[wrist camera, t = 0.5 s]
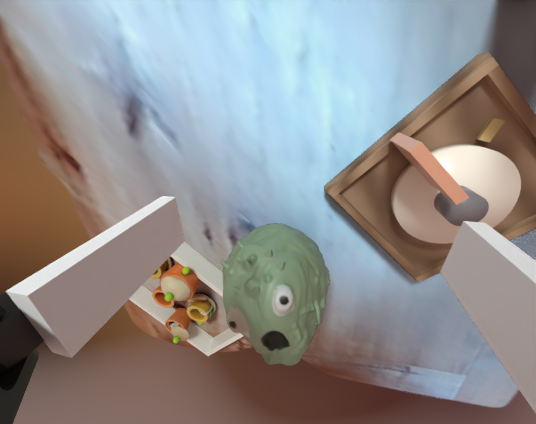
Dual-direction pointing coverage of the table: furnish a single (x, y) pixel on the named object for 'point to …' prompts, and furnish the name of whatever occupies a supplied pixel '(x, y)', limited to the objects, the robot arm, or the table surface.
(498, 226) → the brown wooden tray
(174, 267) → the toy tea set
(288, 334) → the green monster figurine
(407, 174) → the dial
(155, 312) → the tea tray rim
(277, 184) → the table surface
